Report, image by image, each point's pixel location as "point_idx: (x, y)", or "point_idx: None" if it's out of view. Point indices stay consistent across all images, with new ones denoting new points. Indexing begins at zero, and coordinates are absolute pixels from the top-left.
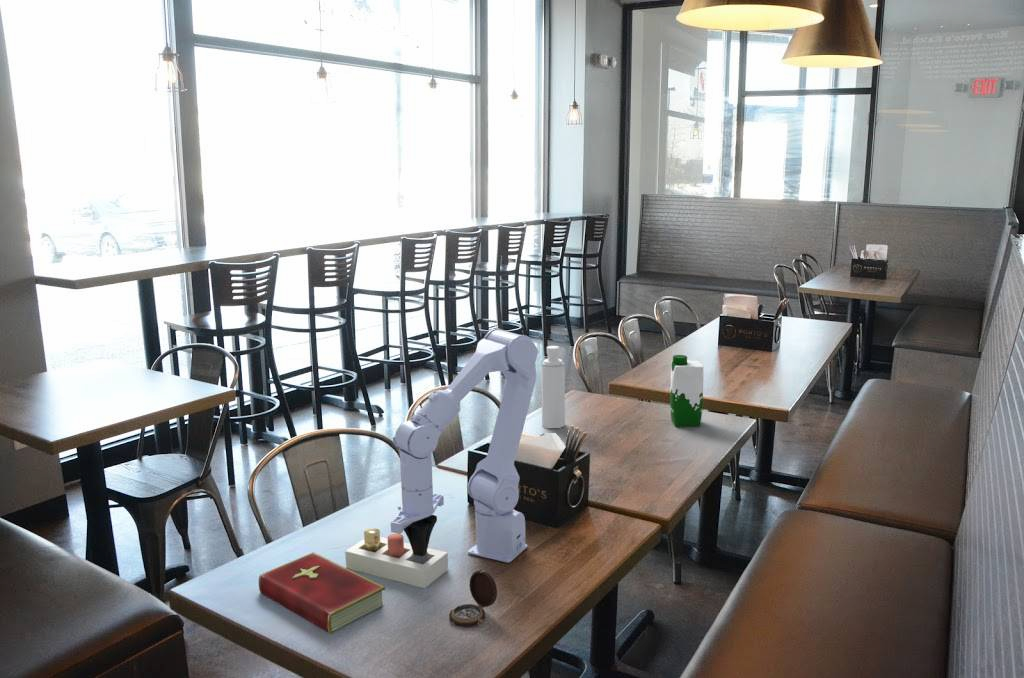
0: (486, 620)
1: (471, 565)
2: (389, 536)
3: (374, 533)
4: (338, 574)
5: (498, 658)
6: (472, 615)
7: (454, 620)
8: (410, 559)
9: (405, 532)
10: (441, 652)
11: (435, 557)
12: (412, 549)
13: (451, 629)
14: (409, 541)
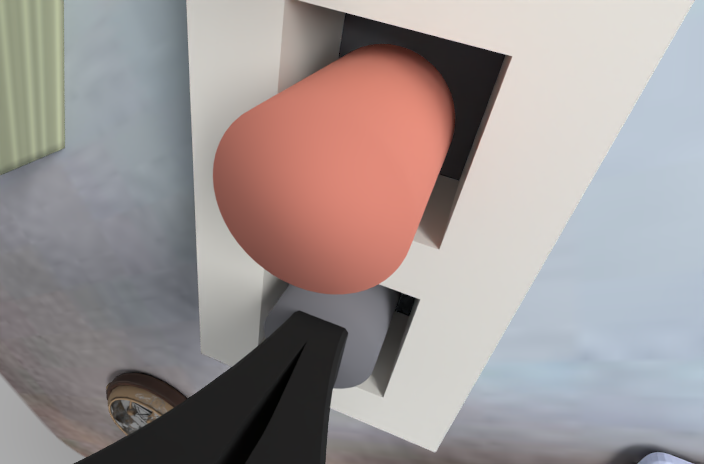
0: None
1: (511, 445)
2: (301, 123)
3: None
4: None
5: (81, 444)
6: None
7: (110, 392)
8: None
9: (98, 455)
10: (22, 356)
11: (356, 399)
12: (273, 334)
13: (100, 374)
14: (216, 378)
